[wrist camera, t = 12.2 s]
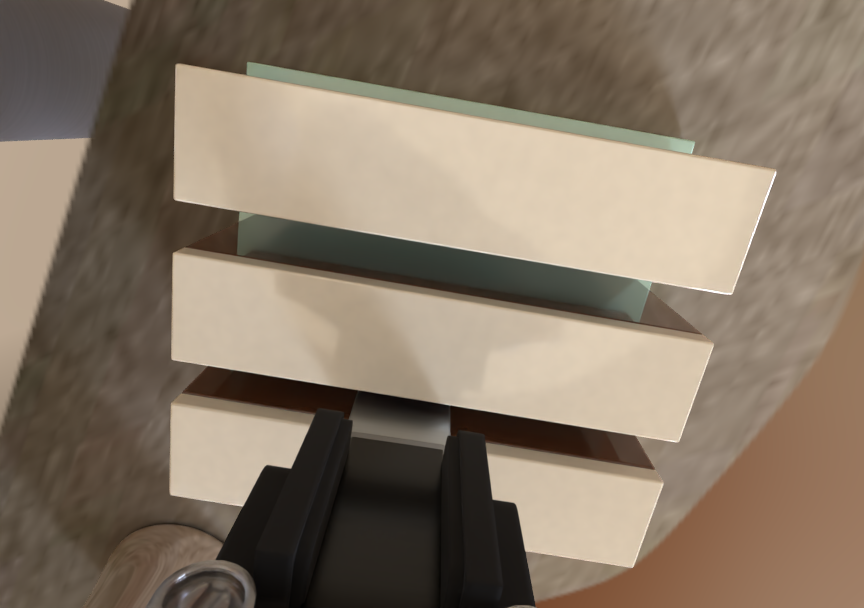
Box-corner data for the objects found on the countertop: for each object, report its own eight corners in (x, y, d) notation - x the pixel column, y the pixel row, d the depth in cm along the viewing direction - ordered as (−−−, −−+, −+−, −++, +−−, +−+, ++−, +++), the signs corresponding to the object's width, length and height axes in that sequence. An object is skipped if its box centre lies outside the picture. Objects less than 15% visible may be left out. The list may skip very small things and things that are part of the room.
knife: (375, 350, 19) (233, 816, 6) (379, 314, 19) (237, 735, 6) (444, 361, 19) (445, 844, 6) (451, 325, 19) (464, 763, 6)
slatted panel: (236, 396, 21) (149, 508, 15) (255, 63, 17) (150, 31, 11) (590, 454, 21) (646, 585, 15) (685, 140, 18) (811, 149, 11)
